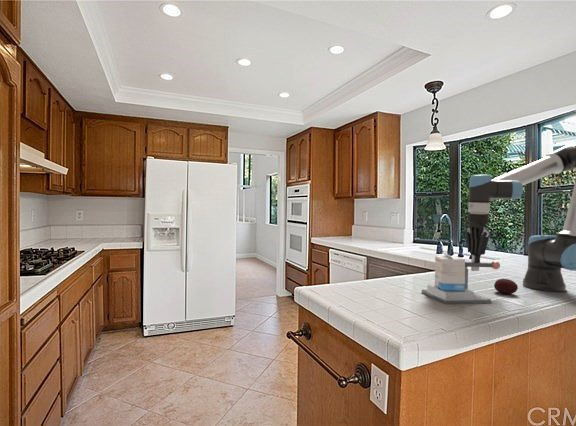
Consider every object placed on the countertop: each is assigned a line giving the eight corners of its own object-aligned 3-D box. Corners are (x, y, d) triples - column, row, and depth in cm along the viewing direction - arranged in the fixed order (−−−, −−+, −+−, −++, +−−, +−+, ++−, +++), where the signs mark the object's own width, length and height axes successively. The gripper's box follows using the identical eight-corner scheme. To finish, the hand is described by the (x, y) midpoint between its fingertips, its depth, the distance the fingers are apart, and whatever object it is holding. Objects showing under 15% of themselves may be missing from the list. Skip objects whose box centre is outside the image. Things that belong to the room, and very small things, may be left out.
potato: (504, 296, 131) (505, 281, 131) (489, 291, 139) (489, 277, 139) (521, 296, 132) (521, 281, 132) (504, 290, 140) (505, 276, 140)
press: (462, 291, 138) (463, 266, 137) (491, 302, 122) (491, 274, 122) (421, 292, 135) (422, 266, 135) (445, 304, 119) (446, 274, 119)
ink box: (465, 291, 121) (466, 254, 121) (441, 290, 122) (442, 254, 122) (456, 285, 130) (457, 251, 129) (434, 285, 131) (434, 251, 130)
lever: (497, 268, 134) (497, 260, 134) (501, 270, 131) (502, 262, 131) (455, 267, 136) (456, 259, 136) (459, 268, 132) (459, 260, 132)
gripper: (459, 212, 140) (457, 267, 142) (480, 214, 128) (476, 274, 129) (476, 212, 141) (473, 267, 143) (498, 214, 129) (494, 274, 130)
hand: (475, 270), depth 136 cm, fingers closed
